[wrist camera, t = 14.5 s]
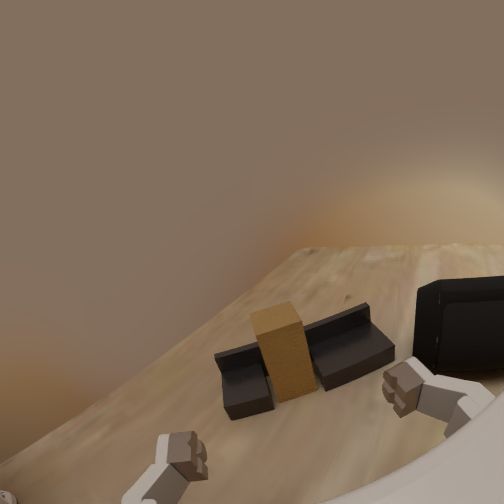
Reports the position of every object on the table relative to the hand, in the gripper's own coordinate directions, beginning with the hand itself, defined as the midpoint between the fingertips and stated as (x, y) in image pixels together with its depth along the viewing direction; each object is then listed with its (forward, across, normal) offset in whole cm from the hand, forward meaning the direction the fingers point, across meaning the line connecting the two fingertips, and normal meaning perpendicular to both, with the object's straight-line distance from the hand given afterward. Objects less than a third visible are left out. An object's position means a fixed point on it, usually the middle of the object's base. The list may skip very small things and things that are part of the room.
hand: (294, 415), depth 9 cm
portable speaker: (+4, -26, +14) cm, 30 cm away
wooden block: (+16, -2, +15) cm, 22 cm away
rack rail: (+17, -4, +15) cm, 23 cm away
